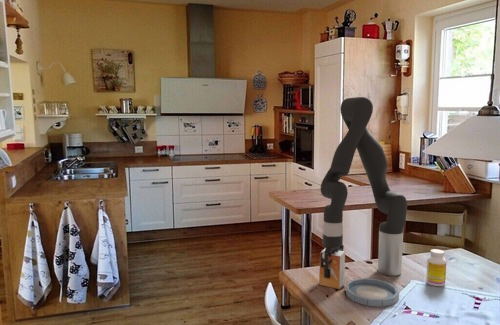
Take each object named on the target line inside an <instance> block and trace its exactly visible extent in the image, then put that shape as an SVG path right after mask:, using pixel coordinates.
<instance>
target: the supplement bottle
mask: <svg viewBox="0 0 500 325" xmlns="http://www.w3.org/2000/svg"><path fill="white" fill-rule="evenodd" d="M444 255H445V251H444V250H442V249H436V248H433V249H430V255H429V256H428V257H427V260H426V261H427V262H426V277H425V278H426V279H425V280H426V283H427V284H428V285H431V286H434V287H442V286H445V284H446V276H447V274H446V273H447V260H446V258H445V257H444Z"/></svg>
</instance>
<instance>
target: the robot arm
mask: <svg viewBox="0 0 500 325" xmlns="http://www.w3.org/2000/svg"><path fill="white" fill-rule="evenodd" d="M373 106H374V105H373V102H372V101H371V99H370V98H368V97H367V96H357V97H347V98H345V99H344V100H342V102H341V104H340V114H341V118H342V119H343V123H344V124H345V125H346V128H347V129H348V131H347V133H346V134H345V135H344V137H343V139H342V140H341V141H340V143H339V144H338V145H337V147H336V149H335V151H334V154H333V157H332V161H331V163H330V164H331V165H330V168H328V171H327V172H326V174H325V175H324V177H323V179H322V180H321V184H320V193H321V195H322V196H323V197H324V198H326V199H330V204H327V205H325V206H324V208H323V221H322V222H323V224H322V242H321V243H322V245H323V246H324V247H325V248H326V249H325V248H324V249H325V252H324V253H323V252H321V251H320V252H321V268H324V277H325V278H328V279H329V278H330V267H331V264H332V263H333V258H331V260H328V255H329V257H331V255H332V254H336V252H340V251H344V247H345V246H344V245H343V244H344V243H343V242H344V225H343V224H344V223H343V220H344V219H343V216H344V215H343V213H344V212H343V211H344V208H345V206H346V202H347V198H348V195H349V194H348V191H349V190H348V188H347V185H346V184H345V183H344V182H342V181H340V179H341V178H342V177H346V176H348V175H349V173H350V170H351V166H352V163H353V160H354V156H355V153H356V150H357V153H358V156H359V158H360V160H361V163H362V166H363V168H364V171H365V174H366V176H367V179H368V181H369V184H370V187H371V190H372V195H373V198H374V203H375V206H376V207H377V210H379V211H380V212H381V213H383V214H385V215H387V217H386V221H383V222H380V223H379V226H378V227H379V228H378V253H377V254H378V256H377V257H378V258H377V261H378V262H377V271H378V273H380V274H382V275H386V276H391V277H393V276H400V275H401V274H402V271H403V270H402V268H403V243H404V240H403V239H404V228H405V227H406V221H407V211H408V202H407V198H406V197H405V196H404V195H403V194H401V193H398V192H393V191H391V188H390V187H389V185H388V182H387V179H386V177H387V171H388V166H389V165H388V164H389V163H388V159H387V156H386V153H385V150H384V148H383V146H382V145H381V143H380V142H379V141H378V140H377V138H376V137H375V136H374V135H373V133H371V132H370V131H369V129H368V128H367V126H368V124H369V122H370V120H371V118H372V115H373V111H374V107H373ZM339 250H340V251H339ZM323 262H324V265H323ZM328 262H329V265H328Z"/></svg>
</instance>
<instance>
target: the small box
mask: <svg viewBox="0 0 500 325" xmlns="http://www.w3.org/2000/svg"><path fill="white" fill-rule="evenodd" d="M325 249H326V247H325V248H324V249H322V250H321V251H320V253H319V272H318V273H319V278H318V280H319V281H318V284H319V285H320V286H324V287H328V288H332V289H337V290H340V289H341V288H342V287H343V285H344V284H345V271H346V270H345V268H346V267H345V265H346V264H345V262H346V251H344V250H343V251H340V250H339V251H340V252H336V254H332V255H331V257H329V255H328V260H331V258H333V263H332V264H331V267H330V278H329V279H328V278H325V277H324V268H321V252H323V253H324V252H325ZM323 265H324V262H323ZM328 265H329V262H328Z"/></svg>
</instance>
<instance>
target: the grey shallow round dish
mask: <svg viewBox="0 0 500 325" xmlns="http://www.w3.org/2000/svg"><path fill="white" fill-rule="evenodd" d="M345 294H346V297H348V298H349V299H350V300H352V301H353V302H355V303H357V304H360V305H364V306H368V307H374V308H375V307H378V308H379V307H383V308H384V307H389V306H392V305H395V304H396V303H397V302H398V301H399V300H400V299H399V298H400V291H399V290H398V288H397V286H395V285H393V284H392V283H390V282H388V281H385V280H380V279H378V278H366V277H361V278H354V279H351V280H349V281H348V282H347V283H345Z"/></svg>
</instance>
